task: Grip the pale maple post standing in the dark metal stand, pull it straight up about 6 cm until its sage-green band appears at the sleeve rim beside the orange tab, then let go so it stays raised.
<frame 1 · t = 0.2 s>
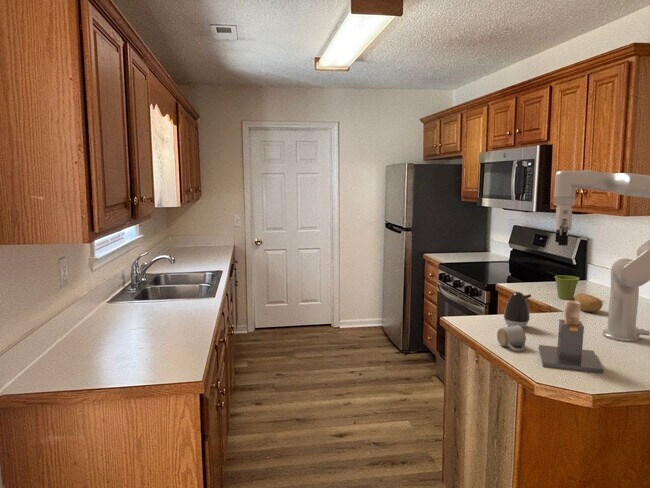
hand: (561, 243, 196), 37 cm above the counter, tool pointing down, fingers open, 9 cm apart
plant pot: (565, 298, 254), on the counter
post: (570, 328, 167), point 12 cm above the counter, slide at 0.0 cm
stand: (568, 360, 168), on the counter
pump dispenser: (516, 327, 206), on the counter
ceramic mug: (513, 347, 182), on the counter
potato: (587, 311, 230), on the counter
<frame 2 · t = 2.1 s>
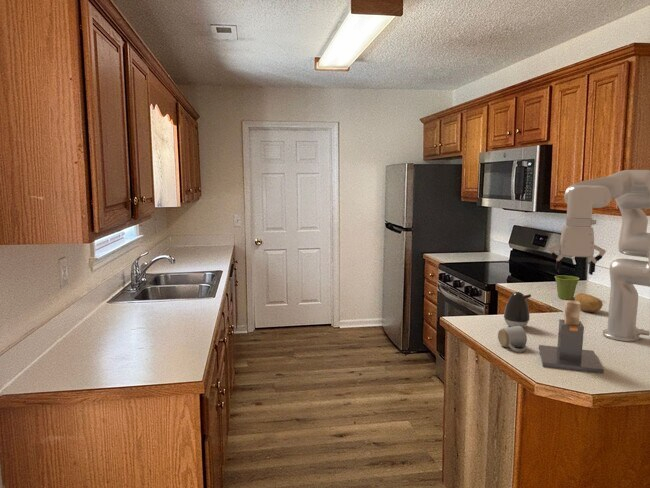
hand: (574, 273, 164), 31 cm above the counter, tool pointing down, fingers open, 9 cm apart
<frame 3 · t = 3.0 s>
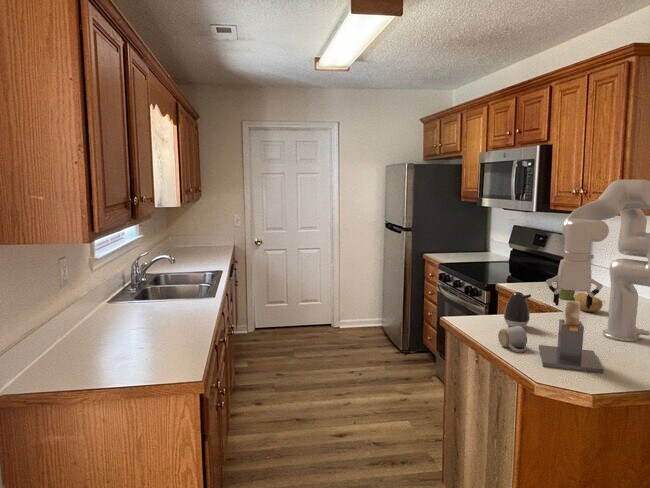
hand: (572, 306, 165), 20 cm above the counter, tool pointing down, fingers open, 9 cm apart
nothing on the counter moved.
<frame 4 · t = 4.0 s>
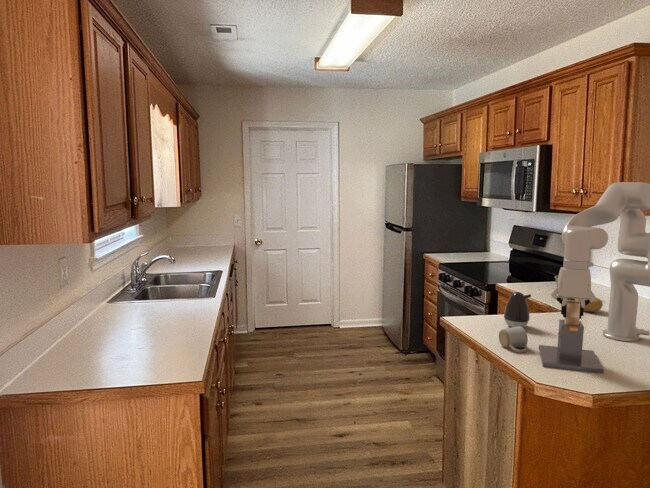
hand: (571, 316, 166), 16 cm above the counter, tool pointing down, fingers closed on post, 4 cm apart
post: (570, 328, 167), point 12 cm above the counter, slide at 0.0 cm, touching gripper
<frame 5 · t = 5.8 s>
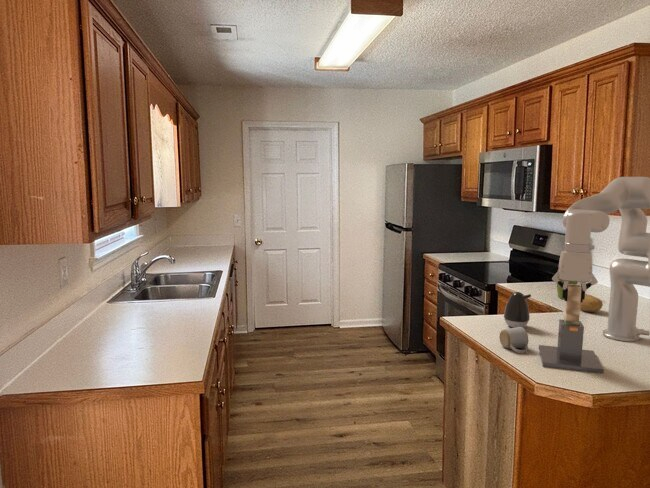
hand: (573, 300, 165), 22 cm above the counter, tool pointing down, fingers closed on post, 4 cm apart
post: (572, 312, 166), point 17 cm above the counter, slide at 5.8 cm, touching gripper
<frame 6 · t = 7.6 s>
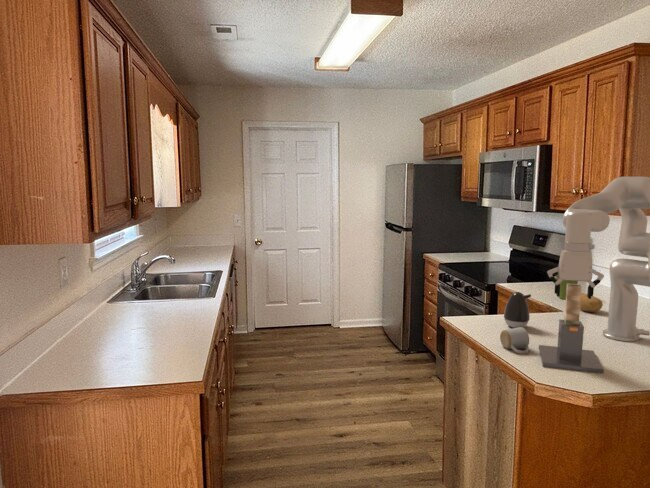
hand: (573, 296, 165), 23 cm above the counter, tool pointing down, fingers open, 9 cm apart
post: (572, 311, 166), point 18 cm above the counter, slide at 5.9 cm
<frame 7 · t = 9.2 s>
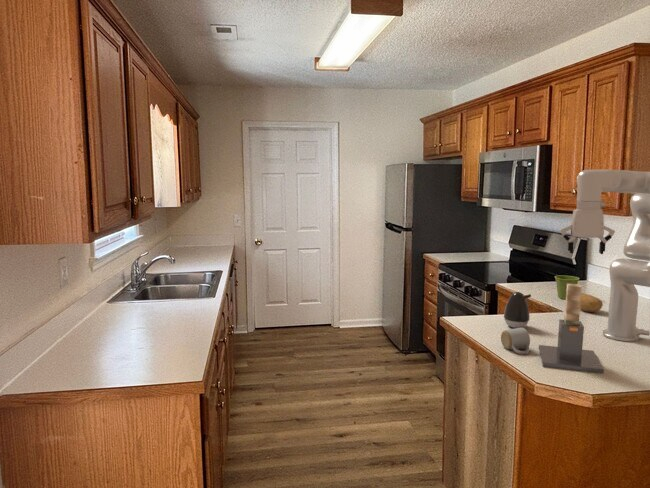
hand: (586, 253, 174), 36 cm above the counter, tool pointing down, fingers open, 9 cm apart
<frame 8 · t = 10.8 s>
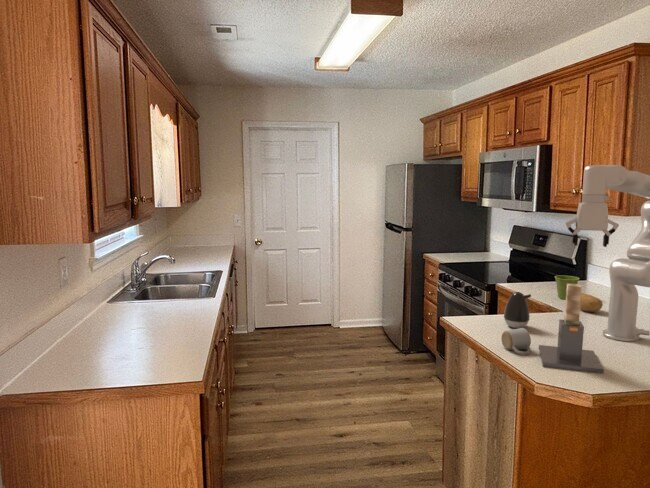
hand: (589, 245, 178), 38 cm above the counter, tool pointing down, fingers open, 9 cm apart
at the end: post slide at 5.9 cm; the gripper is holding nothing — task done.
